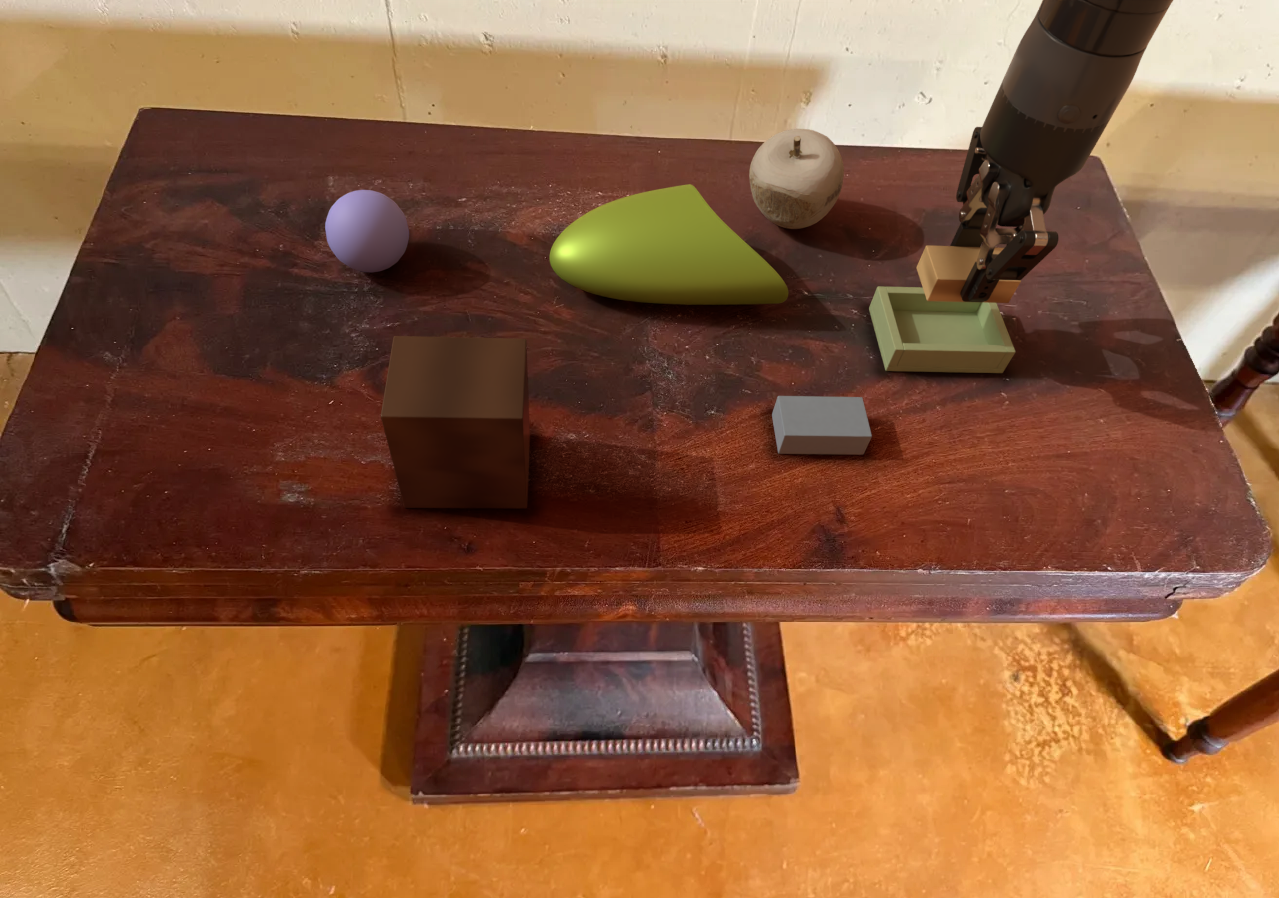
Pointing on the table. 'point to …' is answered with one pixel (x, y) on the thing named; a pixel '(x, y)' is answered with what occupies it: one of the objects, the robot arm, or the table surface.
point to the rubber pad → (821, 425)
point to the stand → (458, 421)
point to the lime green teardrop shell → (663, 253)
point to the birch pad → (955, 274)
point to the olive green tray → (938, 333)
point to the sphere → (367, 231)
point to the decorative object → (796, 177)
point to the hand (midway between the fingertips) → (965, 278)
